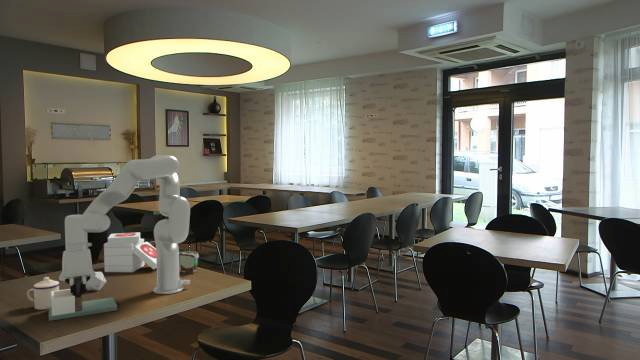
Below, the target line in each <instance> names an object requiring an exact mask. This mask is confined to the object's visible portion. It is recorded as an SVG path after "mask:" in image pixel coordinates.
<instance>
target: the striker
mask: <svg viewBox="0 0 640 360" xmlns="http://www.w3.org/2000/svg"><path fill="white" fill-rule="evenodd" d="M73 283H74V285H75V295H74V296H75V305H76V310H82V302H83V297H82V296H83V295H82V286H81V283H82V276H80V277H73Z"/></svg>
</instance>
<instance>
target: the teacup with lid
mask: <svg viewBox="0 0 640 360" xmlns="http://www.w3.org/2000/svg"><path fill="white" fill-rule="evenodd" d="M42 279H43V280H40V281H39V282H37V283H34V285H33V286H32V287H33V288H30V289H28V291H27V292H26V295H27V299H28V300H29V301H31V302H34V309H35V310H38V311H39V310H41V311H42V310H44V311H45V310H49V307H50V306H51V291H58V290H60V284H61V283H60V282H59V281H58V280H54V279H50V277H49V276H45V277H43V278H42ZM32 291H33V296H34V297H32V296H31V292H32Z"/></svg>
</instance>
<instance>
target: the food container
mask: <svg viewBox="0 0 640 360" xmlns="http://www.w3.org/2000/svg"><path fill="white" fill-rule="evenodd" d="M199 258H200V256H199V253H198V251H193V250H188V251H186V250H185V251H179V271H180V272H181V271H185V272H184V273H186V272H190V273H189V274H191V273H195V272H196V273H197V272H198V259H199ZM196 273H195V274H196Z"/></svg>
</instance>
